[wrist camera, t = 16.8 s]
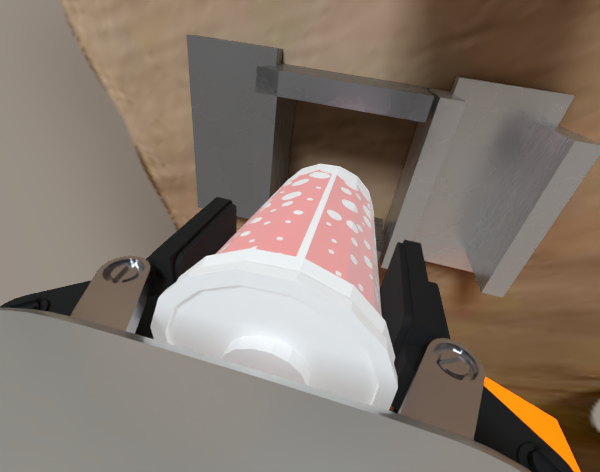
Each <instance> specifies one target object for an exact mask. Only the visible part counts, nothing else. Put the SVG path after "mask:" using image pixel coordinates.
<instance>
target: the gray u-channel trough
mask: <svg viewBox="0 0 600 472" xmlns="http://www.w3.org/2000/svg"><path fill="white" fill-rule="evenodd" d="M429 92H430V93H431V94H432V95H433V96H434V99H433V102H432V105H431V108H430V111H429V114H428V116H427V119H426V122H425V123H424V122H418V125H417V128H416V131H415V134H414V137H413V140H412V143H411V146H410V149H409V152H408V155H407V158H406V162H405V165H404V168H403V171H402V174H401V177H400V180H399V183H398V186H397V189H396V192H395V195H394V198H393V201H392V204H391V208H390V211H389V214H388V217H387V220H386V223H385V226H384V229H383V232H382V252H381V268H385V269H388V266H389V264H390V261H391V258H392V255H393V253H394V250H395V247H396V245H397V243H398V242H400V243H403V241H404V240H409V241H413V242H418V243H421V246H422V251H423V256H424V261H427V262H432V263H436V264H440V265H444V266H448V267H453V268H457V269H461V270H465V271H470V272H474V275H475V278H476V280H477V283H478V285H479V288H480V290H481V292H482V293H486V294H490V295H494V296H498V297H502V298H503V296H504V295H505V293H506V292H507V290H508V289H509V287H510V286H511V284H512V283H513V282H514V280H515V279H516V277H517V276H518V274H519V273H520V271H521V270H522V268H523V267H524V265H525V264H526V262H527V261H528V259H529V258H530V257H531V255H532V254H533V252H534V251H535V249H536V248H537V246H538V245H539V243H540V242H541V240H542V239H543V237H544V236H545V235H546V233H547V232H548V230H549V229H550V227H551V226H552V224H553V223H554V221H555V220H556V218H557V217H558V215H559V214H560V212H561V211H562V210H563V208H564V207H565V205H566V204H567V202H568V201H569V199H570V198H571V196H572V195H573V193H574V192H575V190H576V189H577V188H578V186H579V185H580V183H581V182H582V180H583V179H584V177H585V176H586V174H587V173H588V171H589V170H590V168H591V167H592V165H593V164H594V163H595V161H596V160H597V158H598V157H599V155H600V144H599V143H597V142H595V141H592V140H590V139H588V138H586V137H583V136H581V135H579V134H576V133H574V132H572V131H570V130H567V129H565V128H563V127H560V126H558V125H559V123H560V121H561V120H562V118H563V116H564V114H565V113H566V111H567V109H568V107H569V106H570V104H571V102H572V100H573V99H574V97H575V96H574V95H570V94H566V93H560V92H554V91H547V90H541V89H534V88H528V87H522V86H515V85H509V84H502V83H496V82H490V81H483V80H477V79H470V78H464V77H458V76H456V77H455V80H454V83H453V86H452V88H451V91H444V90H438V89H432V88H429Z"/></svg>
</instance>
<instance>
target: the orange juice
mask: <svg viewBox="0 0 600 472" xmlns="http://www.w3.org/2000/svg"><path fill="white" fill-rule="evenodd" d="M484 386H485V387H486V388H487V389H488V390H489V391H490V392H492V393H493V394H494V395H495V396H496V397H497V398H498V399H499V400H500V401H501V402H502V403H504V404H505V405H506V406H507V407H508V408H509V409H510V410H511V411H512V412H513V413H514V414H516V415H517V416H518V417H519V418H520V419H521V420H522V421H523V422H524V423H525V424H526V425H528V426H529V427H530V428H531V429H532V430H533V431H534V432H535V433H536V434H537V435H538V436H539V437H541V438H542V439H543V440H544V441H545V442H546V443H547V444H548V445H549V446H550V447H551V448H553V449H554V450H555V451H556V452H557V453H558V454H559V455H560V456H561V457H562V458H563V459H564V460H565V461H566V462H567V463H568V464H569V466H570V467H571V468H572V470H573V471H574V472H580V470H579V467H578V465H577V463H576V461H575V459H574V457H573V455H572V452H571V450H570V448H569V446H568V444H567V442H566V439H565V437H564V435H563V433H562V431H561V429H560V426H559V424H558V422H557V420H556V419H555V418H553V417H552V416H550V415H548V414H547V413H545V412H543V411H542V410H540V409H538V408H537V407H535V406H533V405H532V404H530V403H528V402H527V401H525V400H523V399H522V398H520V397H518V396H517V395H515V394H513V393H512V392H510V391H508V390H507V389H505V388H503V387H502V386H500V385H498V384H497V383H495V382H493V381H492V380H490V379H488V378H487V377H485V380H484Z"/></svg>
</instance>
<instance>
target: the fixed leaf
mask: <svg viewBox="0 0 600 472" xmlns="http://www.w3.org/2000/svg"><path fill="white" fill-rule="evenodd" d="M187 45H188V60H189V75H190V90H191V105H192V120H193V135H194V150H195V165H196V180H197V195H198V207H200V208H204V207H205V206H207V205H208V204H209V203H210V202H211V201H212V200H213V199H215V198H216V197H220V198H225V199H229V200H232V202H233V204H235V205H236V208H237V213H236V216H238V217H242V218H246V219H250V218H251V217H252V216H253V215H254V214H255V213H256V212H257V211H258V210H259V209H260V208H261V207H262V206H263V205H264V204H265V203H266V202H267V201H268V200H269V199H270V198H271V197H272V196H273V195H274V194H275V193H276V191H277V190H278V189H279V188H280V187H281V186H282V185H283V184H284V183H285V182H286V181H287V180H288V170H289V161H290V152H291V143H292V134H293V125H294V115H295V106H296V100H300V101H306V102H312V103H317V104H323V105H328V106H334V107H340V108H345V109H351V110H357V111H362V112H368V113H373V114H379V115H385V116H390V117H396V118H401V119H407V120H413V121H418V122H424V123H425V122H426V119H427V116H428V114H429V111H430V108H431V105H432V102H433V99H434V96H433V95H432V94H431V93H430V92H429V91H428V90H427V89H426V88H425V87H421V86H415V85H409V84H403V83H397V82H391V81H385V80H379V79H372V78H366V77H360V76H354V75H348V74H342V73H336V72H329V71H323V70H317V69H311V68H305V67H299V66H293V65H287V64H282V53H283V49H279V48H273V47H267V46H260V45H254V44H248V43H241V42H235V41H228V40H222V39H216V38H209V37H203V36H196V35H187ZM374 224H375V237H376V250H377V263H378V261H379V258H380V255H381V252H382V219H378V218H374Z"/></svg>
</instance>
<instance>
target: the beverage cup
mask: <svg viewBox="0 0 600 472" xmlns="http://www.w3.org/2000/svg"><path fill="white" fill-rule="evenodd" d="M150 328H151V331H152V334H153V338H154V340H157V341H161V342H164V343H168V344H171V345H174V346H178V347H181V348H185V349H188V350H191V351H195V352H198V353H201V354H205V355H208V356H212V357H215V358H218V359H222V360H225V361H228V362H232V363H235V364H238V365H242V366H245V367H248V368H251V369H255V370H258V371H261V372H265V373H268V374H271V375H275V376H278V377H281V378H285V379H288V380H291V381H295V382H298V383H301V384H304V385H308V386H311V387H314V388H317V389H321V390H324V391H327V392H330V393H334V394H337V395H340V396H343V397H347V398H350V399H353V400H356V401H360V402H363V403H366V404H370V405H373V406H376V407H379V408H382V409H385V410H388V411H389V409H390V406H391V404H392V402H393V399H394V397H395V394H396V392H397V389H398V379H397V373H396V370H395V366H394V361H395V354H394V350H393V347H392V343H391V339H390V336H389V332H388V328H387V324H386V321H385V320H384V319H383V318H382V314H381V301H380V288H379V276H378V263H377V250H376V237H375V224H374V211H373V205H372V201H371V197H370V193H369V191H368V189H367V188H366V187H365V185H364V184H363V183H362V182H361V180H360V179H359V178H358V176H356V175H354V174H353V173H351V172H349V171H347V170H345V169H344V168H342V167H340V166H333V165H326V164H317V165H314V166H310V167H306V168H302V169H301V170H300V171H298V172H297V173H296V174H295V175H293V176H292V177H291V178H290V179H288V180H287V181H286V182H285V183H284V184H283V185H282V186H281V187H280V188H279V189H278V190H277V191H276V193H275V194H274V195H273V196H272V197H271V198H270V199H269V200H268V201H267V202H266V203H265V204H264V205H263V206H262V207H261V208H260V209H259V210H258V211H257V212H256V213H255V214H254V215H253V216H252V217H251V218H250V219H249V220H248V221H247V222H246V223H245V224H244V225H243V226H242V227H241V228H240V229H239V230H238V231H237V232H236V233H235V234H234V235H233V236H232V237H231V238H230V239H229V240H228V241H227V243H226V244H225V245H224V246H223V247H222V248H221V249H220V250H219V251H218V252H217V253H216V254H214V255H208V256H206V257H204V258H203V259H202V260H200V261H199V262H198V263H197V264H195V265H194V266H193V267H191V268H190V269H189V270H187V271H186V272H185V273H184V274H182V275H181V276H180V277H179V278H178V280H177V282H175V283H174V284H173V285H171V286H170V287H169V288H167V289H166V290H165V291H164V292H163V293H162V294H161V295H160V297H159V298H158V301H157V304H156V308H155V312H154V315H153V319H152V322H151V326H150Z"/></svg>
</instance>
